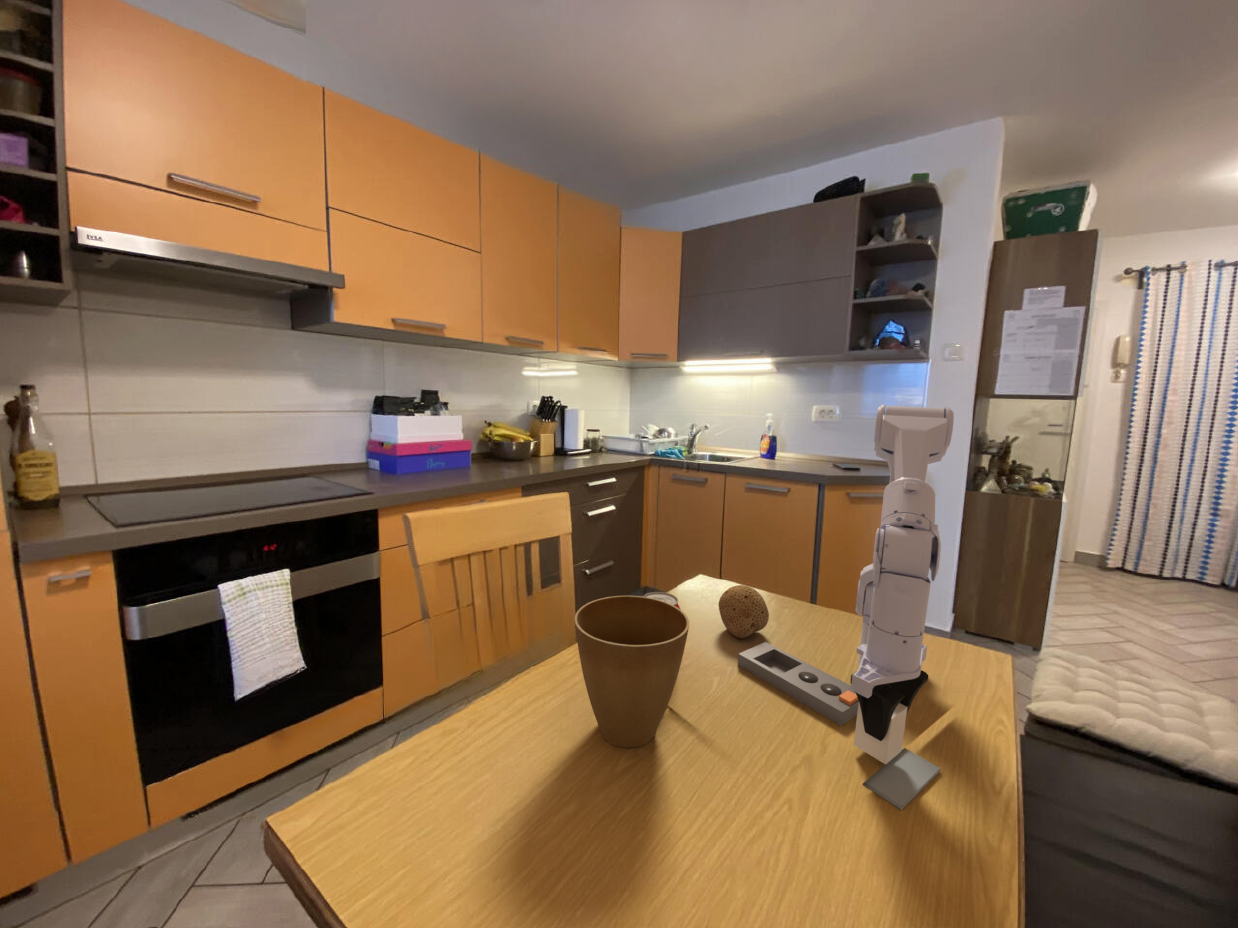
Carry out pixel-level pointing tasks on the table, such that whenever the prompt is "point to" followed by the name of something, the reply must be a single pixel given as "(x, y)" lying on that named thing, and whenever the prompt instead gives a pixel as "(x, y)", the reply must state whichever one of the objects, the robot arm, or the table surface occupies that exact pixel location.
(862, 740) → the block
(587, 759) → the table surface
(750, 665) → the power strip
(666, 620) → the plant pot
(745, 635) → the natural sponge
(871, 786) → the mat
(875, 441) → the robot arm
